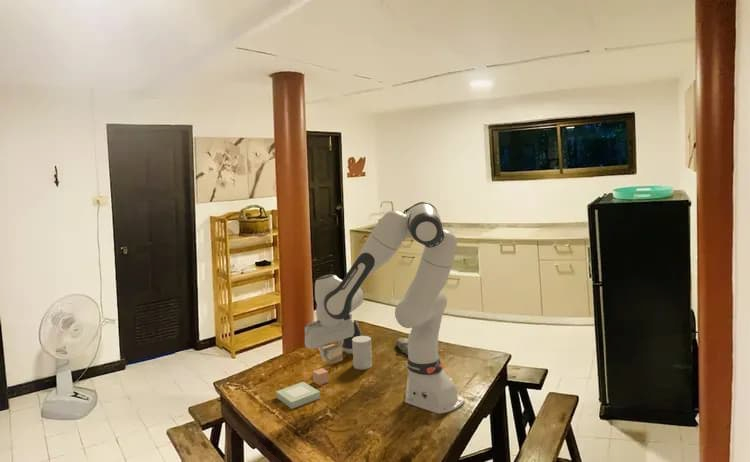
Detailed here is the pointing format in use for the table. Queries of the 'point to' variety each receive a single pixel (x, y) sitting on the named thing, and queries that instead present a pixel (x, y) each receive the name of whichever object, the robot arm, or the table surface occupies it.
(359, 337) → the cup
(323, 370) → the terracotta block
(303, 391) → the sage base
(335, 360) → the beech block
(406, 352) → the elongated rock
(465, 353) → the table surface
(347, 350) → the pump dispenser
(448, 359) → the table surface
